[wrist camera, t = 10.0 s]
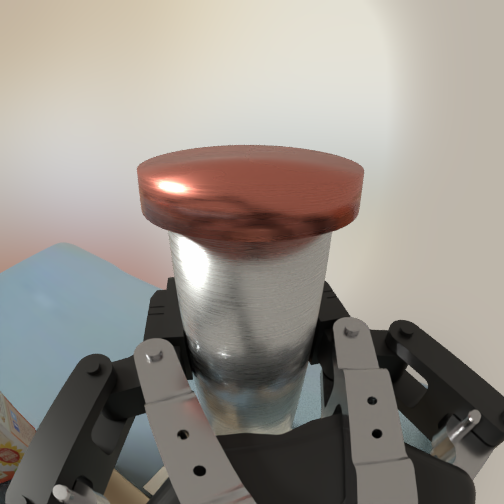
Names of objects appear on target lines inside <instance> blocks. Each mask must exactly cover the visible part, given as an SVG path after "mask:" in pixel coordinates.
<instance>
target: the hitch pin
mask: <svg viewBox="0 0 504 504" xmlns="http://www.w3.org/2000/svg"><path fill="white" fill-rule="evenodd" d="M137 174H138V183H139V193H140V201H141V209H142V213H143V215H144V216H145V217H146V219H147V220H149V221H150V222H151V223H153V224H154V225H156V226H158V227H161V228H162V229H166V230H168V232H169V240H170V249H171V256H172V263H173V270H174V277H175V283H176V290H177V296H178V302H179V307H180V313H181V318H182V324H183V328H184V333H185V338H186V343H187V348H188V353H189V357H190V362H191V367H192V371H193V376H194V381H195V385H196V389H197V393H198V397H199V401H200V405H201V407H202V409H203V412H204V414H205V416H206V418H207V420H208V422H209V424H210V426H211V428H212V430H213V432H214V434H215V436H217V435H227V434H237V433H257V434H275V435H279V434H284V433H286V432H288V431H291V428H292V424H293V421H294V417H295V413H296V410H297V406H298V402H299V398H300V395H301V391H302V387H303V383H304V378H305V374H306V370H307V366H308V361H309V357H310V353H311V348H312V343H313V339H314V334H315V329H316V324H317V319H318V314H319V309H320V303H321V298H322V292H323V287H324V281H325V275H326V269H327V262H328V255H329V249H330V241H331V234H332V231H336V230H338V229H340V228H343V227H345V226H347V225H348V224H350V223H351V222H352V221H354V219H355V218H356V217H357V215H358V213H359V207H360V200H361V192H362V184H363V177H364V169H363V167H362V166H361V165H359V164H358V163H356V162H354V161H352V160H349V159H346V158H343V157H340V156H337V155H333V154H328V153H324V152H320V151H314V150H307V149H301V148H293V147H282V146H265V145H228V146H213V147H203V148H194V149H187V150H182V151H176V152H172V153H167V154H163V155H160V156H156V157H154V158H151V159H148V160H146V161H144V162H143V163H141V164H140V165H139V166H138V168H137Z"/></svg>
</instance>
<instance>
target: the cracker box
mask: <svg viewBox="0 0 504 504" xmlns="http://www.w3.org/2000/svg"><path fill="white" fill-rule="evenodd" d="M35 433H36V430H35V428H34V427H33V426H32V425H31V424H30V423H29V422H28V421H27V420H26V419H25V418H24V417H23V416H22V415H21V414H20V413H19V412H18V411H17V410H16V409H15V407H14V406H13V405H12V404H11V403H10V402H9V401H8V400H7V398H6V397H5V396H4V395H3V394H2V393H1V391H0V483H3V482H6V481H9V480H11V479H12V478H13V476H14V474H15V472H16V470H17V468H18V466H19V464H20V462H21V460H22V458H23V456H24V454H25V452H26V450H27V448H28V446H29V444H30V442H31V441H32V439H33V437H34V435H35Z"/></svg>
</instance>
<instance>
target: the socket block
mask: <svg viewBox="0 0 504 504" xmlns="http://www.w3.org/2000/svg"><path fill="white" fill-rule="evenodd" d="M103 496H105V497H106V498H107V500H108V501H109V502H110V504H146V503H147V502H148V501H149V500H150V498H149V497H148V496H146V495H145V494H144V493H142V492H141V491H140V490H139V489H137V488H136V487H135V486H134V485H133V484H131V483H130V482H129V481H128V480H127V479H126V478H124V477H123V476H122V475H121V474H120V473H119V472H118V471H117V470H115V469H114V470H113V472H112V475H111V477H110V480H109V482H108V485H107V488H106V490H105V493H104V495H103Z"/></svg>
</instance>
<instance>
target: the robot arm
mask: <svg viewBox="0 0 504 504" xmlns="http://www.w3.org/2000/svg"><path fill="white" fill-rule="evenodd" d="M309 362H310V364H311V365H314V364H319V363H320V365H321V367H322V370H321V373H320V385H321V418H320V419H316V420H312V421H310V422H308V423H306V424H303V425H301V426H299V427H297V428H295V429H293V430H291V431H288V432H286V433H284V434H279V435H275V434H257V433H237V434H227V435H217V436H215V434H214V432H213V430H212V428H211V426H210V424H209V422H208V420H207V418H206V416H205V414H204V412H203V409H202V407H201V405H200V403H199V401H198V399H197V397H196V395H195V393H194V391H192V390H191V388H190V386H189V384H188V381H187V380H193V371H192V367H191V362H190V357H189V353H188V348H187V343H186V338H185V333H184V328H183V324H182V318H181V313H180V307H179V302H178V296H177V290H176V283H175V277H171V278H168V283H167V290H157V291H156V292H155V293H154V295H153V296H152V297H151V299H150V305H149V310H148V316H147V322H146V328H145V334H144V340H143V342H142V343H140V344H139V345H138V346H137V347H136V349H135V351H134V355H132V356H130V357H128V358H125V359H122V360H118V361H114V362H111V361H110V359H109V358H108V357H107V356H105V355H102V354H91V355H88V356H86V357H84V358H83V359H81V360H80V361H79V363H78V364H77V365H76V367H75V369H74V370H73V372H72V373H71V375H70V376H69V378H68V379H67V381H66V383H65V384H64V386H63V387H62V389H61V391H60V392H59V394H58V395H57V397H56V399H55V400H54V402H53V404H52V405H51V407H50V409H49V410H48V412H47V414H46V416H45V417H44V419H43V421H42V422H41V424H40V426H39V428H38V430H37V431H36V433H35V435H34V437H33V439H32V441H31V442H30V444H29V446H28V448H27V450H26V452H25V454H24V456H23V458H22V460H21V462H20V464H19V466H18V468H17V470H16V472H15V474H14V476H13V478H12V481H11V483H10V485H9V487H8V489H7V492H6V496H5V503H6V504H110V502H109V501H108V500H107V498H106V497H105V496H103V495H104V493H105V490H106V488H107V485H108V482H109V480H110V477H111V475H112V472H113V470H114V467H115V465H116V462H117V460H118V457H119V455H120V452H121V450H122V447H123V445H124V442H125V440H126V438H127V435H128V433H129V430H130V428H131V426H132V423H133V421H134V419H135V416H137V415H140V414H144V413H146V414H147V417H148V420H149V423H150V427H151V430H152V433H153V436H154V439H155V441H156V444H157V447H158V450H159V453H160V455H161V458H162V461H163V463H164V466H165V468H166V471H167V473H168V476H169V477H168V478H167V479H166V480H165V482H164V483H163V484H162V485H161V487H160V488H159V489H158V490H157V491H156V493H155V494H154V495H153V496H152V497H151V498H150V500H149V501H148V502H147V503H146V504H475V496H476V492H475V486H474V483H473V479H474V478H475V476H476V475H477V474H478V472H479V471H480V469H481V468H482V466H483V465H484V464H485V462H486V461H487V459H488V458H489V456H490V454H491V453H492V451H493V450H494V449H495V448H496V447H497V446H498V445H499V444H500V443H502V442H503V441H504V397H503V396H502V395H501V394H500V393H499V392H498V391H497V390H495V389H494V388H493V387H492V386H491V385H490V384H488V383H487V382H486V381H485V380H484V379H483V378H481V377H480V376H479V375H478V374H477V373H475V372H474V371H473V370H472V369H470V368H469V367H468V366H467V365H466V364H464V363H463V362H462V361H461V360H460V359H458V358H457V357H456V356H455V355H453V354H452V353H451V352H450V351H448V350H447V349H446V348H445V347H443V346H442V345H441V344H440V343H438V342H437V341H436V340H434V339H433V338H432V337H431V336H429V335H428V334H427V333H425V332H424V331H423V330H422V329H420V328H419V327H418V326H417V325H415V324H414V323H412V322H409V321H406V320H398V321H394V322H393V323H392V324H391V325H390V327H389V330H370V329H369V327H368V326H367V325H366V324H365V323H364V322H363V321H361V320H359V319H357V318H352V317H350V315H349V314H348V312H347V311H346V309H345V308H344V306H343V305H342V303H341V302H340V300H339V299H338V298H337V296H336V294H335V293H334V292H333V290H332V288H331V287H330V286H329V284H328V283H327V282H326V281H324V287H323V292H322V298H321V303H320V309H319V314H318V319H317V324H316V329H315V334H314V339H313V343H312V348H311V353H310V357H309ZM408 365H410V366H411V367H412V368H413V369H414V370H416V372H418V373H419V374H420V375H421V376H422V377H423V378H424V379H425V380H426V381H427V383H428V389H426V388H425V387H424V386H423V385H422V384H421V383H419V382H418V381H417V380H416V379H415V378H414V377H413V376H411V375H410V374H409V373H408V372H407V371H406V370H405V369H406V368H407V366H408ZM398 410H399V411H400V412H401V413H402V414H403V415H404V416H405V417H406V418H408V419H409V420H410V421H411V422H412V423H413V424H414V425H415V426H416V427H417V428H418V429H419V430H420V431H421V432H422V433H423V434H424V435H425V436H426V437H427V438H428V439H429V440H430V441H431V442H432V449H431V452H430V453H431V455H430V454H428V453H426V452H424V451H422V450H420V449H417V448H415V447H413V446H411V445H409V444H407V443H405V442H404V440H403V434H402V429H401V423H400V418H399V413H398Z"/></svg>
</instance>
